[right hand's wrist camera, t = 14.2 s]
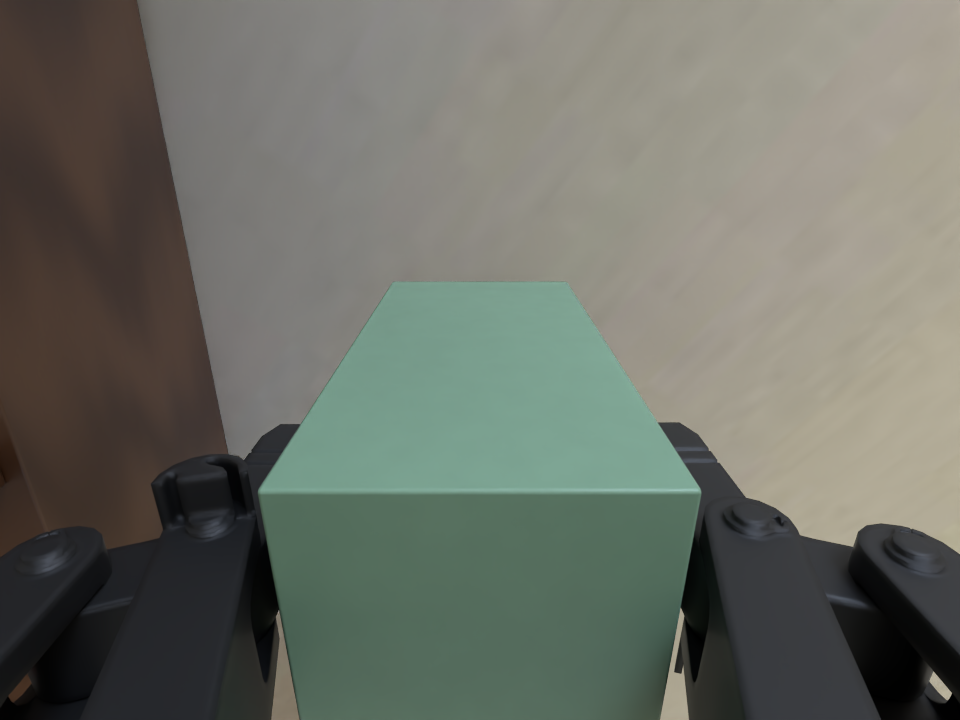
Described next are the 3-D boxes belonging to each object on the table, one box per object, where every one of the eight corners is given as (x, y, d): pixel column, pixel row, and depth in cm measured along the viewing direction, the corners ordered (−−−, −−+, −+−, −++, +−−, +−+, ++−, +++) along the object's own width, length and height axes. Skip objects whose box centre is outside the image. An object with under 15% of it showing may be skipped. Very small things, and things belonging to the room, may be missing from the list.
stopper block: (558, 434, 17) (650, 777, 8) (401, 434, 17) (308, 777, 8) (567, 281, 15) (703, 491, 6) (392, 281, 15) (254, 490, 6)
